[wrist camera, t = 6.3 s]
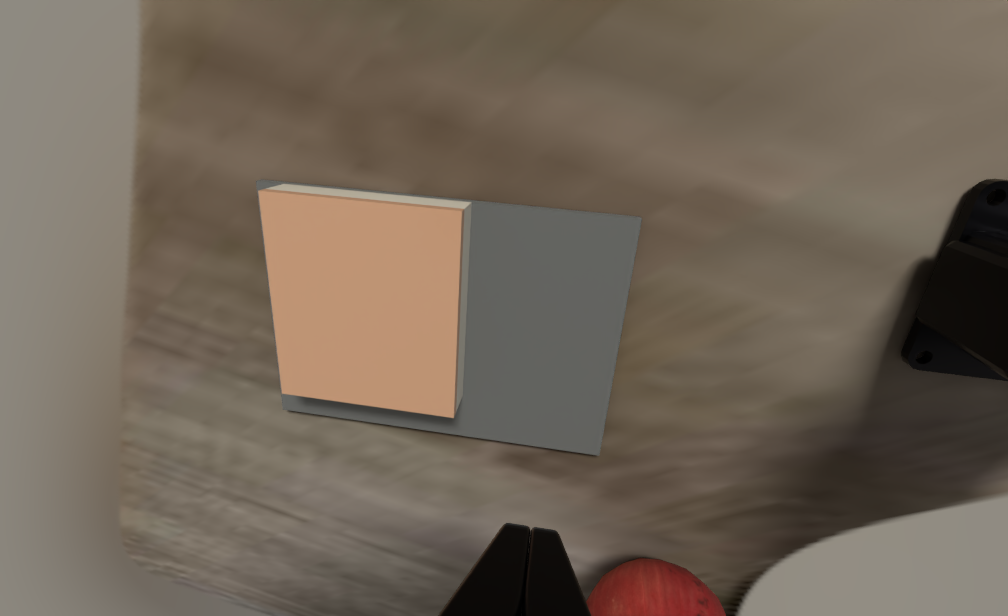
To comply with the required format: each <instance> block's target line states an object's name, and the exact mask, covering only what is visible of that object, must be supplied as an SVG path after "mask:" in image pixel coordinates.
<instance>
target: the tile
mask: <svg viewBox="0 0 1008 616" xmlns="http://www.w3.org/2000/svg"><path fill="white" fill-rule="evenodd" d="M258 194H259V202H260V211H261V219H262V228H263V236H264V245H265V253H266V262H267V270H268V279H269V287H270V296H271V304H272V313H273V321H274V330H275V338H276V347H277V355H278V364H279V372H280V381H281V389H282V394H289V395H296V396H303V397H310V398H317V399H324V400H331V401H338V402H345V403H352V404H359V405H366V406H373V407H380V408H387V409H394V410H401V411H408V412H415V413H422V414H429V415H436V416H443V417H450V418H454V416H455V414H456V411H457V409H458V406H459V404H460V401H461V399H462V396H463V377H464V356H465V334H466V312H467V291H468V269H469V247H470V226H471V204H472V202H463V201H453V200H443V199H433V198H423V197H413V196H402V195H392V194H382V193H372V192H362V191H352V190H342V189H332V188H322V187H311V186H301V185H291V184H281V185H277V186H274V187H270V188H266V189H263V190H259V191H258Z"/></svg>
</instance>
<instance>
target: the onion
mask: <svg viewBox="0 0 1008 616" xmlns="http://www.w3.org/2000/svg"><path fill="white" fill-rule="evenodd" d="M586 603H587V606H588V608H589V611H590V613H591V616H726V614H725V612H724V610H723V608H722V605H721V603H720V601H719V599H718V597H717V596H716V595H715V594H714V593H713V592H712V591H711V590H710V589H709V588H708V587H707V586H706V585H705V584H704V583H703V582H702V581H701V580H699V579H698V578H697V577H696V576H694V575H693V574H692V573H691V572H689V571H688V570H687V569H685V568H682V567H680V566H678V565H675V564H672V563H669V562H666V561H662V560H659V559H646V558H638V559H636V560H633V561H628V562H625V563H623V564H621V565H619V566H618V567H616V568H615V569H613V570H611V571H610V572H608V573H606V574H605V575H603V576H602V578H601V579H600V581H599V582H598V584H597V585H596V586H595V588H594V589H593V591H592V593H591V594H590V596H589V598H588V600H587V601H586Z"/></svg>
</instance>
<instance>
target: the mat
mask: <svg viewBox="0 0 1008 616" xmlns="http://www.w3.org/2000/svg"><path fill="white" fill-rule="evenodd" d="M281 184H291V185H301V186H311V187H322V188H332V189H342V190H352V191H362V192H372V193H382V194H392V195H402V196H413V197H423V198H433V199H443V200H453V201H463V202H472V204H471V226H470V247H469V269H468V291H467V312H466V334H465V356H464V377H463V396H462V399H461V401H460V404H459V406H458V409H457V411H456V414H455V416H454V418H450V417H443V416H436V415H429V414H422V413H415V412H408V411H401V410H394V409H387V408H380V407H373V406H366V405H359V404H352V403H345V402H338V401H331V400H324V399H317V398H310V397H303V396H296V395H289V394H282V389H281V381H280V372H279V364H278V355H277V347H276V338H275V330H274V321H273V313H272V304H271V296H270V287H269V279H268V270H267V262H266V253H265V245H264V236H263V228H262V219H261V211H260V202H259V194H258V191H259V190H263V189H266V188H270V187H274V186H277V185H281ZM256 186H257V195H258V203H259V212H260V220H261V229H262V237H263V246H264V254H265V262H266V271H267V279H268V288H269V296H270V305H271V313H272V321H273V330H274V338H275V347H276V355H277V364H278V372H279V381H280V389H281V397H282V406H283V410H290V411H297V412H304V413H311V414H317V415H324V416H331V417H338V418H345V419H352V420H359V421H365V422H372V423H379V424H386V425H393V426H400V427H406V428H413V429H420V430H427V431H434V432H441V433H447V434H454V435H461V436H468V437H475V438H482V439H489V440H495V441H502V442H509V443H516V444H523V445H530V446H536V447H543V448H550V449H557V450H564V451H571V452H577V453H584V454H591V455H598V456H599V454H600V449H601V443H602V438H603V432H604V426H605V421H606V415H607V410H608V404H609V399H610V393H611V388H612V382H613V377H614V371H615V365H616V360H617V354H618V349H619V343H620V338H621V332H622V327H623V321H624V315H625V310H626V304H627V299H628V293H629V288H630V282H631V277H632V271H633V265H634V260H635V254H636V249H637V243H638V238H639V232H640V227H641V221H642V219H641V217H638V216H628V215H618V214H607V213H597V212H587V211H577V210H567V209H557V208H546V207H536V206H526V205H516V204H506V203H496V202H486V201H475V200H465V199H455V198H445V197H435V196H425V195H414V194H404V193H394V192H384V191H374V190H364V189H354V188H343V187H333V186H323V185H313V184H303V183H293V182H282V181H272V180H258V181H256Z"/></svg>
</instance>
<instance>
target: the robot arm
mask: <svg viewBox="0 0 1008 616" xmlns="http://www.w3.org/2000/svg"><path fill="white" fill-rule="evenodd" d="M993 190H995V191H996V195H995V197H994V199H993V200H992V201H990V202H988V203H987V201H986V200H987V196H988V195H989V193H990V192H992V191H993ZM922 351H925V354H924V355H923V356H922V357H920V358H916V356H917V355H918V354H919V353H920V352H922ZM901 357H902V360H903V361H905V362H906V363H907V364H908V365H910V366H911V367H912V368H914V369H917V370H922V371H931V372H939V373H947V374H955V375H963V376H972V377H980V378H988V379H996V380H1005V381H1008V180H1001V179H987V180H984V181H982V182H979V183H978V184H977V185H975V186H974V187H973V188H972V190H971V191H970V193H969V195H968V197H967V199H966V202H965V204H964V206H963V209H962V211H961V213H960V216H959V218H958V220H957V223H956V225H955V227H954V230H953V232H952V234H951V237H950V239H949V241H948V244H947V245H946V246H945V247H944V249H943V251H942V254H941V256H940V258H939V261H938V263H937V265H936V268H935V270H934V273H933V275H932V277H931V280H930V282H929V284H928V287H927V289H926V291H925V294H924V296H923V298H922V301H921V303H920V305H919V308H918V310H917V312H916V319H915V321H914V323H913V326H912V328H911V330H910V333H909V335H908V337H907V340H906V342H905V344H904V347H903V349H902V353H901ZM529 540H530V542H529ZM528 549H529V551H528ZM527 559H528V560H527ZM522 604H523V605H522ZM521 613H522V614H521ZM438 616H591V613H590V611H589V608H588V606H587V603H586V601H585V598H584V596H583V593H582V591H581V588H580V586H579V583H578V581H577V578H576V576H575V573H574V571H573V568H572V566H571V563H570V561H569V558H568V556H567V553H566V551H565V548H564V546H563V543H562V541H561V538H560V536H559V534H558V532H557V531H555V530H550V529H544V528H537V527H534V528H532V530H531V533H530V528H529V527H528V526H524V525H518V524H512V523H506V524H504V525H503V526H502V527H501V529H500V530H499V532H498V533H497V534H496V536H495V537H494V538H493V540H492V541H491V543H490V544H489V545H488V547H487V548H486V550H485V551H484V552H483V554H482V555H481V557H480V558H479V559H478V561H477V562H476V564H475V565H474V566H473V568H472V569H471V571H470V572H469V573H468V575H467V576H466V578H465V579H464V580H463V582H462V583H461V585H460V586H459V587H458V589H457V590H456V591H455V593H454V594H453V596H452V597H451V598H450V600H449V601H448V603H447V604H446V605H445V607H444V608H443V610H442V611H441V612H440V614H439V615H438Z"/></svg>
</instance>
